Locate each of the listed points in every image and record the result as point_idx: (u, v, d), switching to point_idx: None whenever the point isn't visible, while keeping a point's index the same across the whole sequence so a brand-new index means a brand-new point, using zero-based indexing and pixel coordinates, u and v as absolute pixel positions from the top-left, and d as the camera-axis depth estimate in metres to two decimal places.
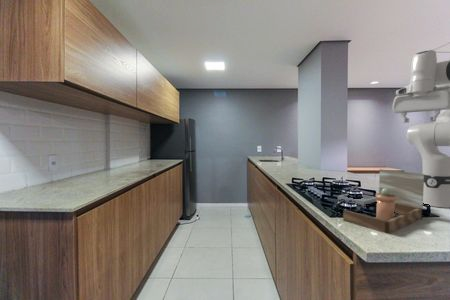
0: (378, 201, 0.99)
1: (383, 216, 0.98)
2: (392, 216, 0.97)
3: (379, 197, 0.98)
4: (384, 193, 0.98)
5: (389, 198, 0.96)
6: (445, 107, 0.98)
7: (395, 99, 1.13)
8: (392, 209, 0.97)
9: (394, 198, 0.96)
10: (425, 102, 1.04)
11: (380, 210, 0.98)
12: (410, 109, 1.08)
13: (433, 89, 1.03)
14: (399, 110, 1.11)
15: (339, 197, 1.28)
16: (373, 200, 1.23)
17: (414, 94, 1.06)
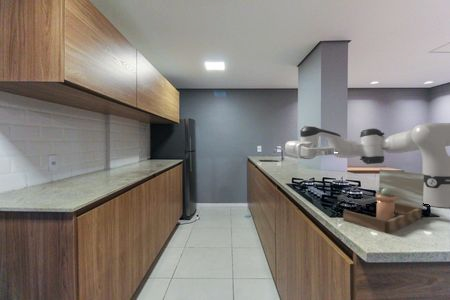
0: (378, 201, 0.99)
1: (383, 216, 0.98)
2: (392, 216, 0.97)
3: (379, 197, 0.98)
4: (384, 193, 0.98)
5: (389, 198, 0.96)
6: (335, 148, 1.29)
7: (302, 146, 1.24)
8: (392, 209, 0.97)
9: (394, 198, 0.96)
10: (322, 147, 1.28)
11: (380, 210, 0.98)
12: (319, 148, 1.23)
13: None
14: (313, 148, 1.21)
15: (339, 197, 1.28)
16: (373, 200, 1.23)
17: (311, 145, 1.29)
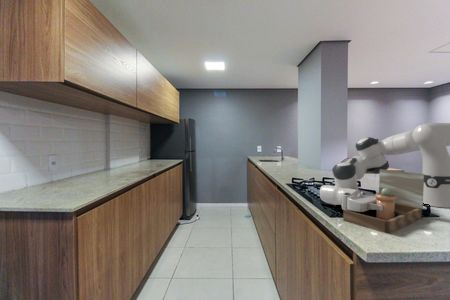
0: (378, 201, 0.99)
1: (383, 216, 0.98)
2: (392, 216, 0.97)
3: (379, 197, 0.98)
4: (384, 193, 0.98)
5: (389, 198, 0.96)
6: None
7: (350, 198, 1.02)
8: (392, 209, 0.97)
9: (394, 198, 0.96)
10: (370, 197, 1.06)
11: None
12: (370, 200, 1.02)
13: None
14: (365, 202, 0.99)
15: None
16: None
17: (357, 194, 1.07)
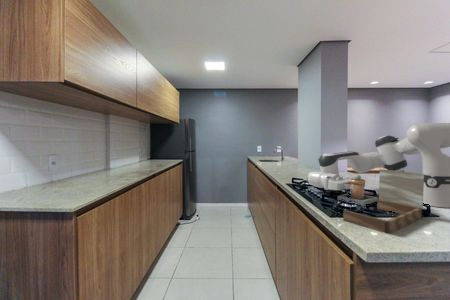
0: (351, 184, 1.27)
1: (355, 196, 1.25)
2: (362, 196, 1.24)
3: (352, 181, 1.26)
4: (356, 178, 1.26)
5: (359, 182, 1.24)
6: None
7: (330, 180, 1.30)
8: (362, 191, 1.24)
9: (363, 182, 1.24)
10: (347, 179, 1.34)
11: (353, 191, 1.26)
12: (346, 181, 1.29)
13: None
14: (341, 182, 1.27)
15: (339, 197, 1.28)
16: (373, 200, 1.23)
17: (336, 177, 1.35)
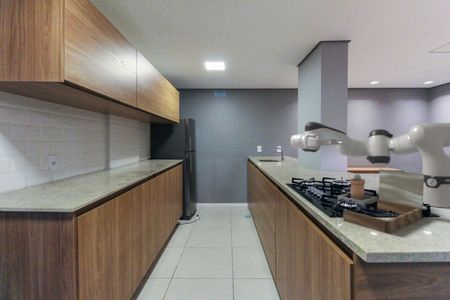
0: (351, 184, 1.27)
1: (355, 196, 1.25)
2: (362, 196, 1.24)
3: (352, 181, 1.26)
4: (356, 178, 1.26)
5: (359, 182, 1.24)
6: (337, 138, 1.40)
7: (309, 137, 1.34)
8: (362, 191, 1.24)
9: (363, 182, 1.24)
10: None
11: (353, 191, 1.26)
12: (324, 138, 1.34)
13: None
14: (319, 138, 1.31)
15: (339, 197, 1.28)
16: (373, 200, 1.23)
17: (316, 136, 1.39)
